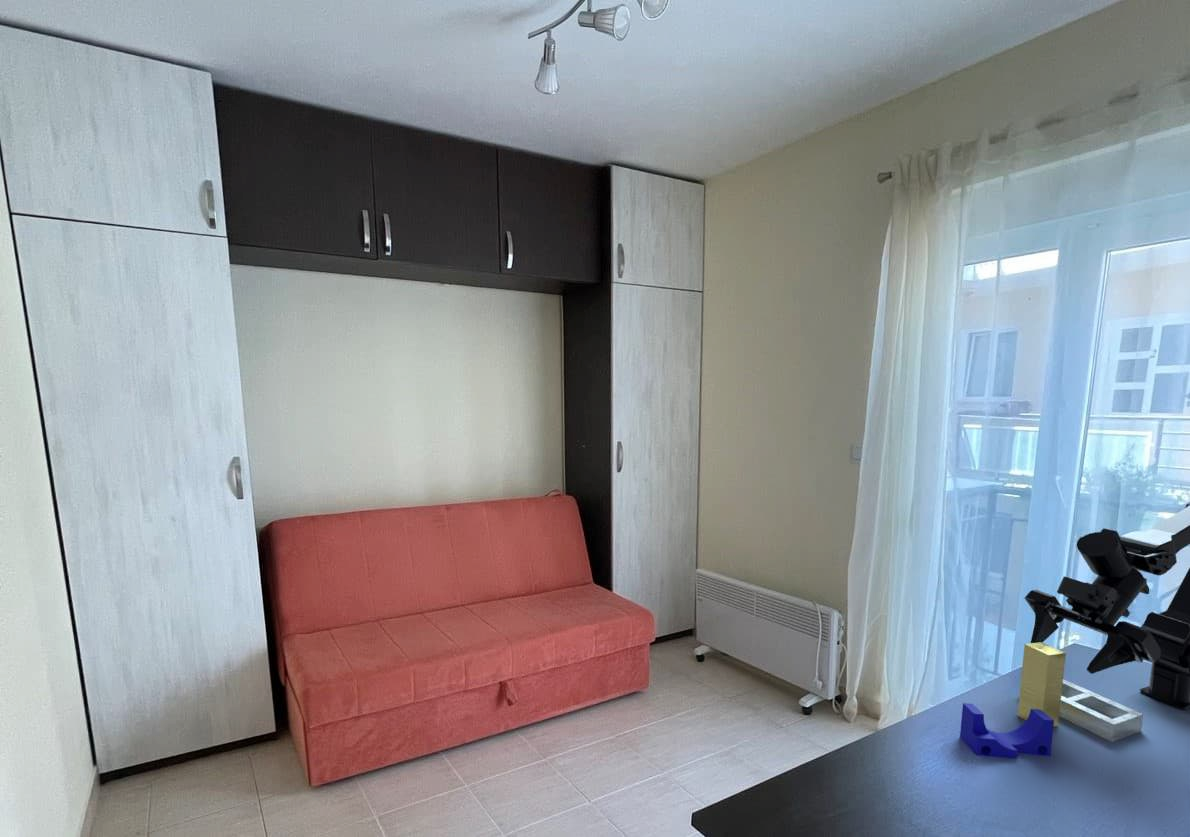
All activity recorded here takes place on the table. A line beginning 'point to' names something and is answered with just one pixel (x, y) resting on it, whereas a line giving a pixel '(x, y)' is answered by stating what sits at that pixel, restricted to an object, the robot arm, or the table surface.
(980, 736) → the cable clip
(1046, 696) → the brass peg
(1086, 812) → the table surface
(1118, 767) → the table surface
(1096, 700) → the metal frame
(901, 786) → the table surface
